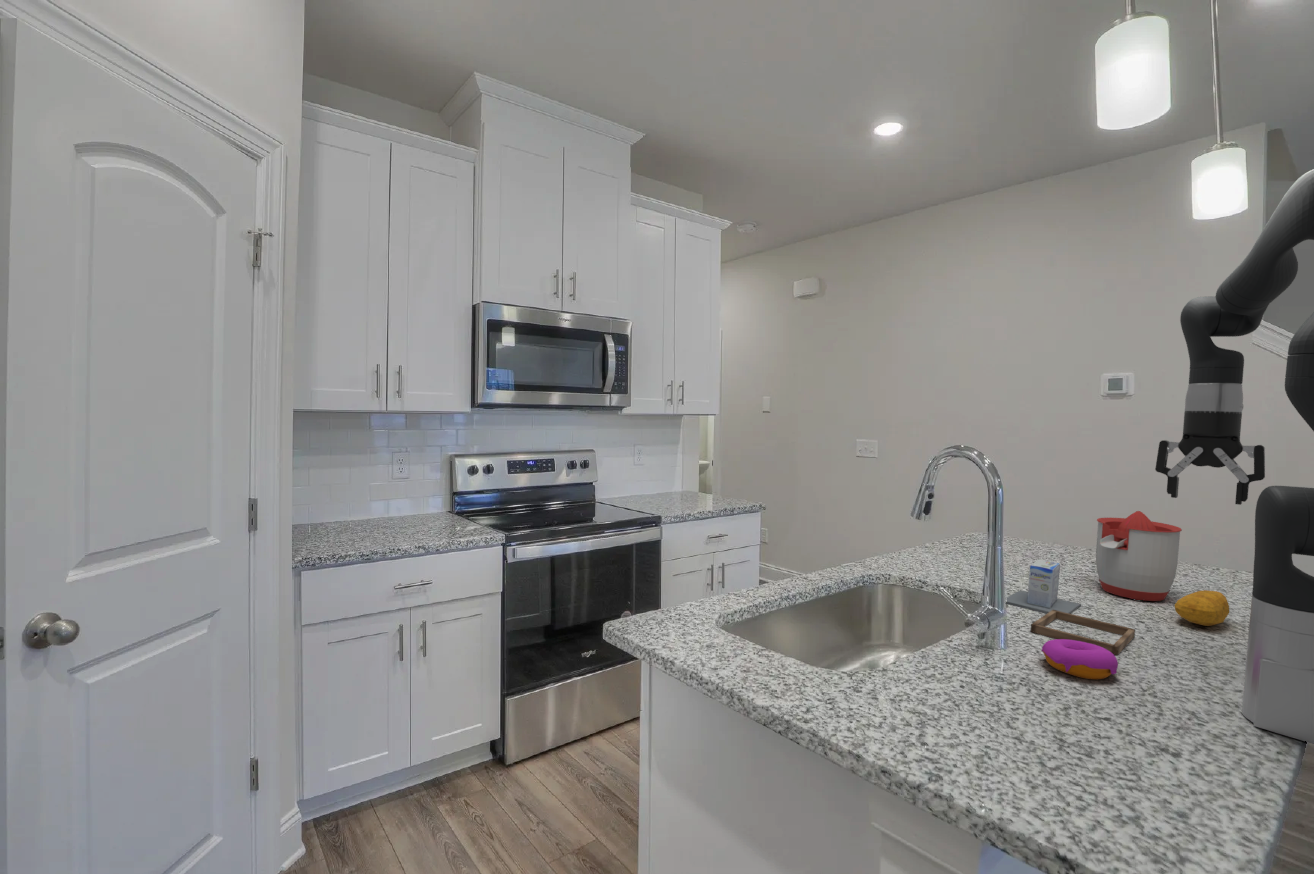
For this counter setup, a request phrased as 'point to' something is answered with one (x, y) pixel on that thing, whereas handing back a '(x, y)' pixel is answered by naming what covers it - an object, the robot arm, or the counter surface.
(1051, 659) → the donut
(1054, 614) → the walnut cradle
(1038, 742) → the counter surface
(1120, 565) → the citrus juicer
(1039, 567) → the medicine box
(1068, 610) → the slate mat
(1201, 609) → the potato
